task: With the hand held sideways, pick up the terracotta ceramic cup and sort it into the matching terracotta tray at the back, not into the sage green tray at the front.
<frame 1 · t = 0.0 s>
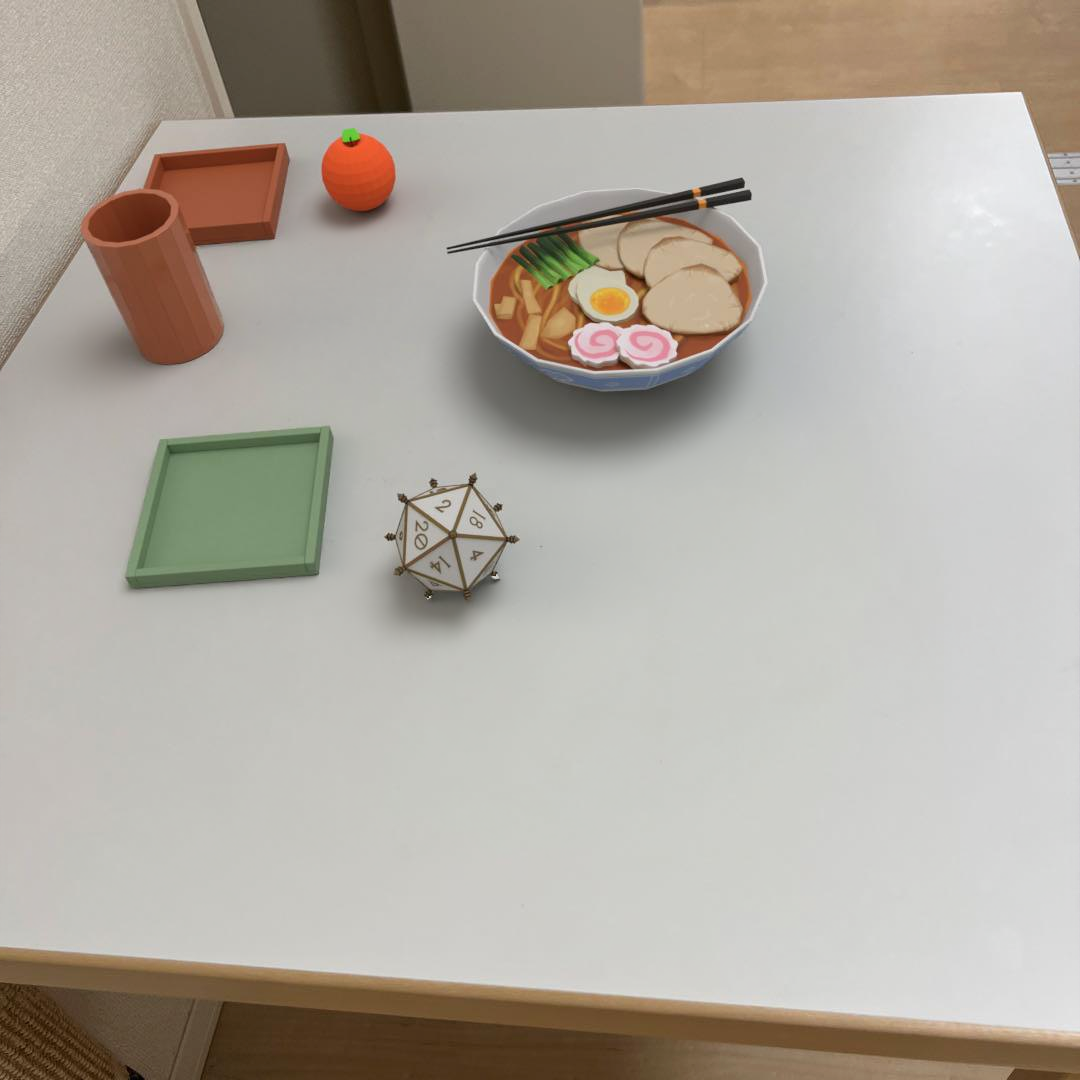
ramen bowl: (619, 346, 88), on the table
game die: (458, 575, 75), on the table
terracotta tray: (215, 203, 105), on the table
terracotta cup: (180, 334, 93), on the table
clementine: (365, 203, 104), on the table
sage tray: (237, 509, 80), on the table
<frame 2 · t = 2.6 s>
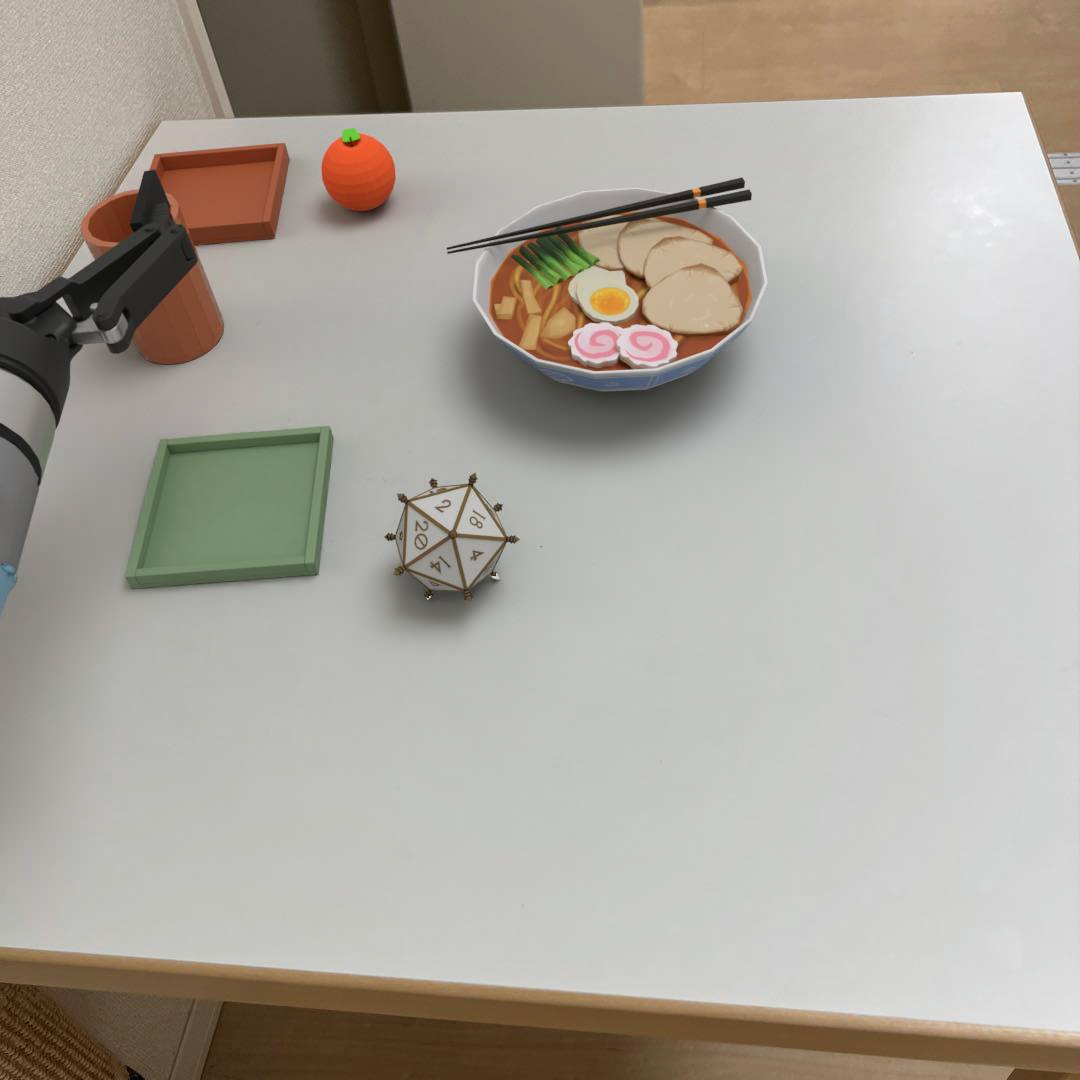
hand: (60, 203, 73), 19 cm above the table, tool horizontal, fingers open, 13 cm apart
nothing on the table moved.
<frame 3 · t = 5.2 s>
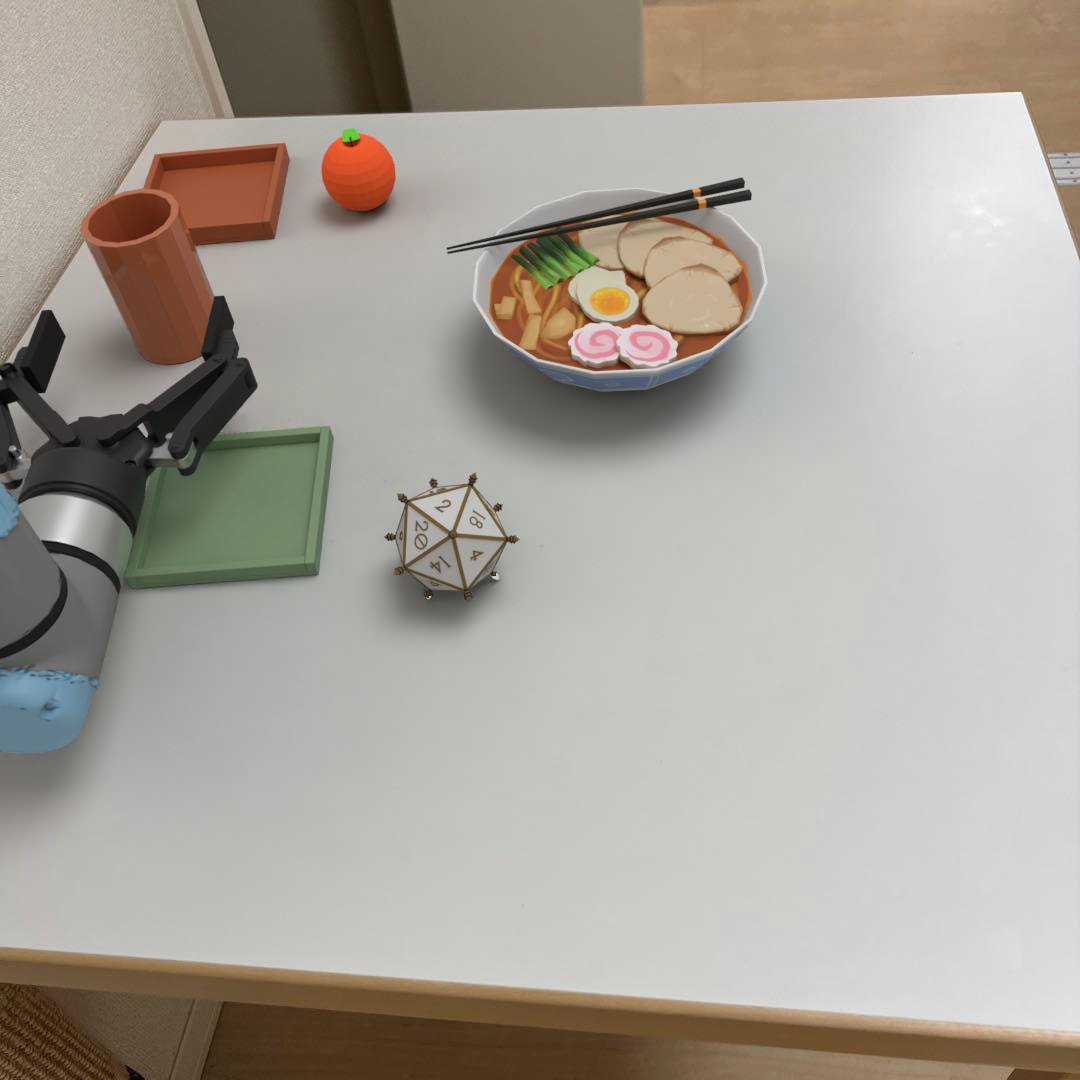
hand: (139, 316, 84), 7 cm above the table, tool horizontal, fingers open, 13 cm apart
nothing on the table moved.
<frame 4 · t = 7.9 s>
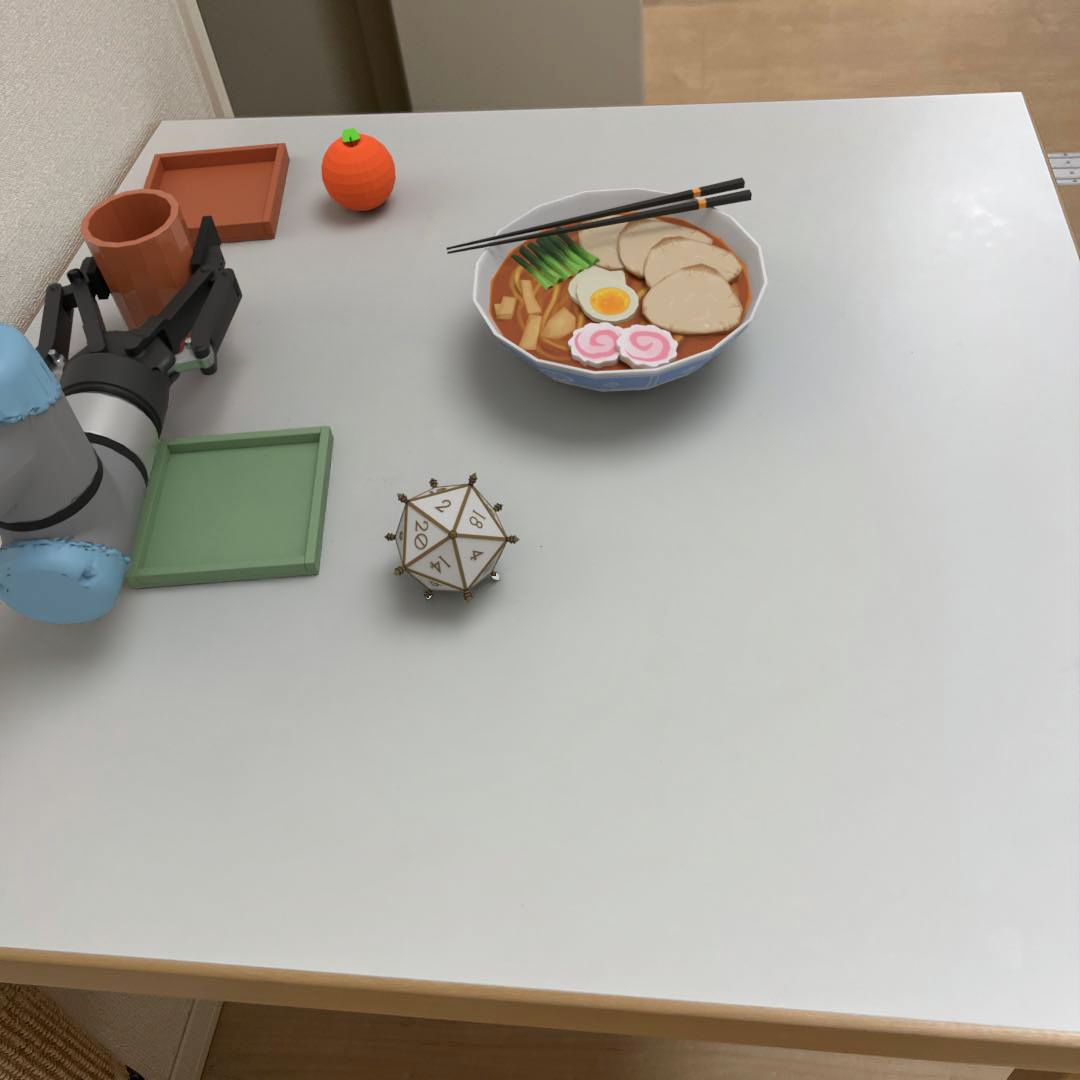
hand: (162, 233, 90), 7 cm above the table, tool horizontal, fingers closed on terracotta cup, 8 cm apart
terracotta cup: (180, 334, 93), on the table, touching gripper
everything else where it was.
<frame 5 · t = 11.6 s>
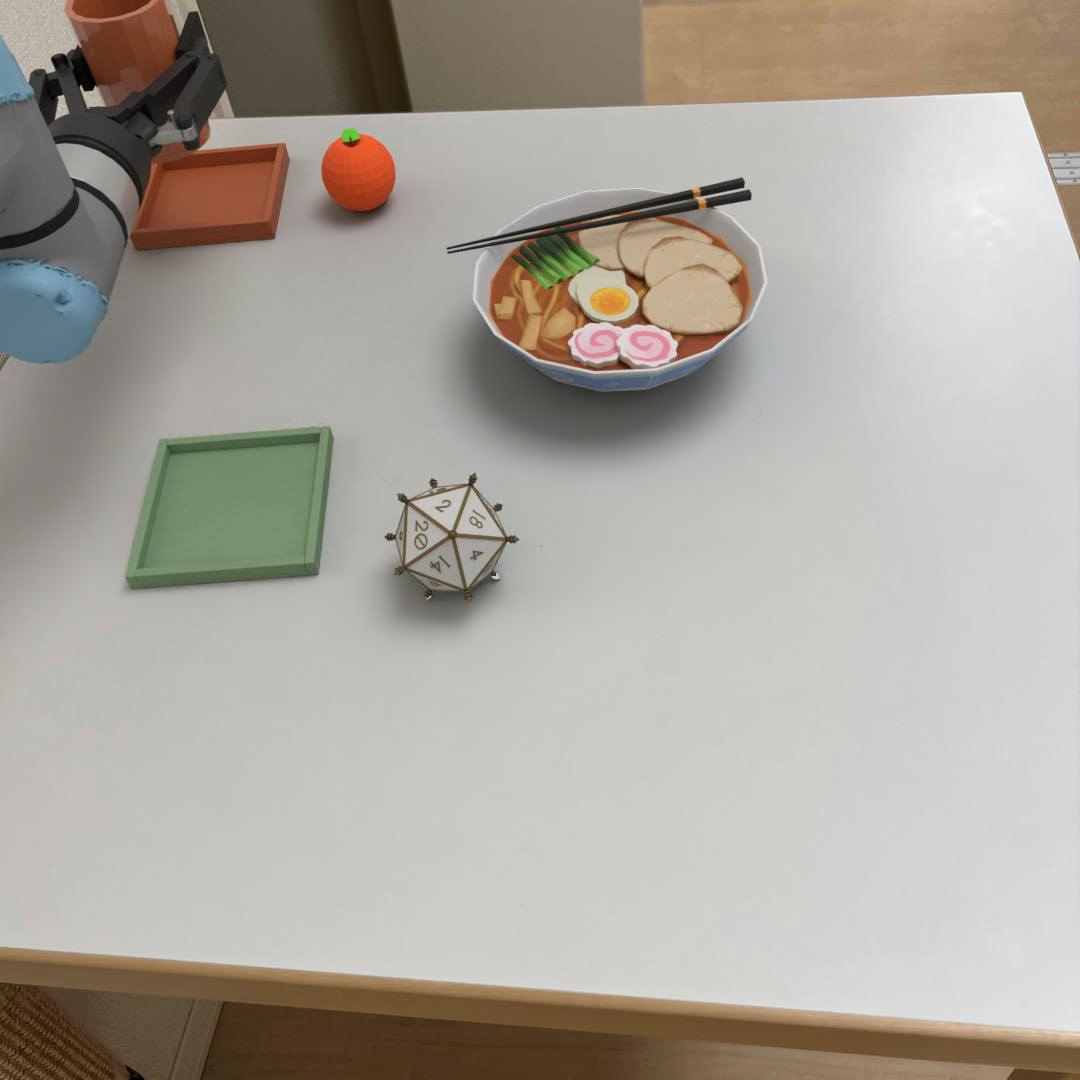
hand: (149, 32, 90), 18 cm above the table, tool horizontal, fingers closed on terracotta cup, 8 cm apart
terracotta cup: (167, 139, 92), point 11 cm above the table, touching gripper
everything else where it was.
when the fingers open (7 cm above the table, at t = 15.8 s): terracotta cup stays where it is, resting on terracotta tray.
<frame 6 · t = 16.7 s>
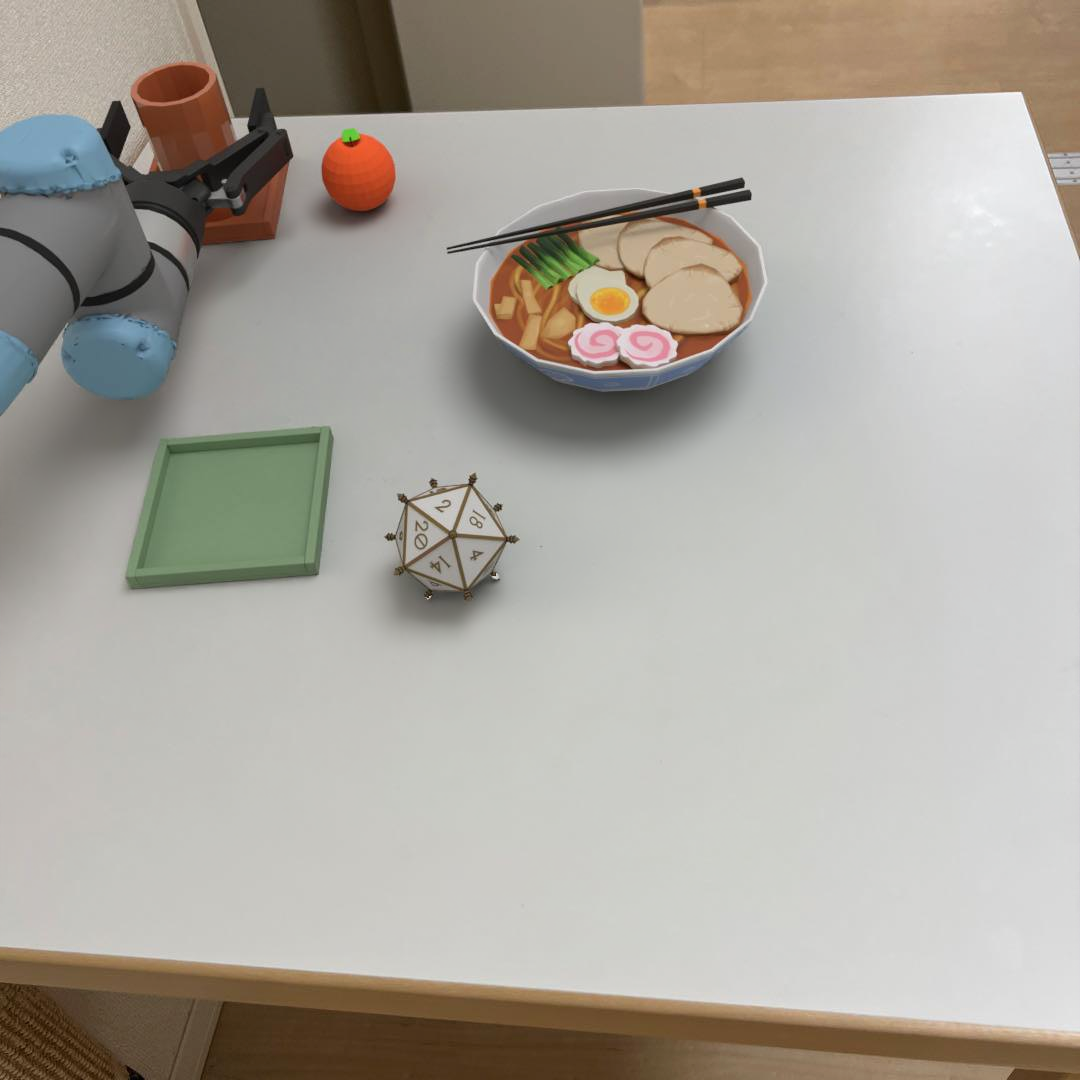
hand: (192, 107, 101), 8 cm above the table, tool horizontal, fingers open, 13 cm apart
terracotta cup: (214, 199, 105), resting on terracotta tray
everything else where it was.
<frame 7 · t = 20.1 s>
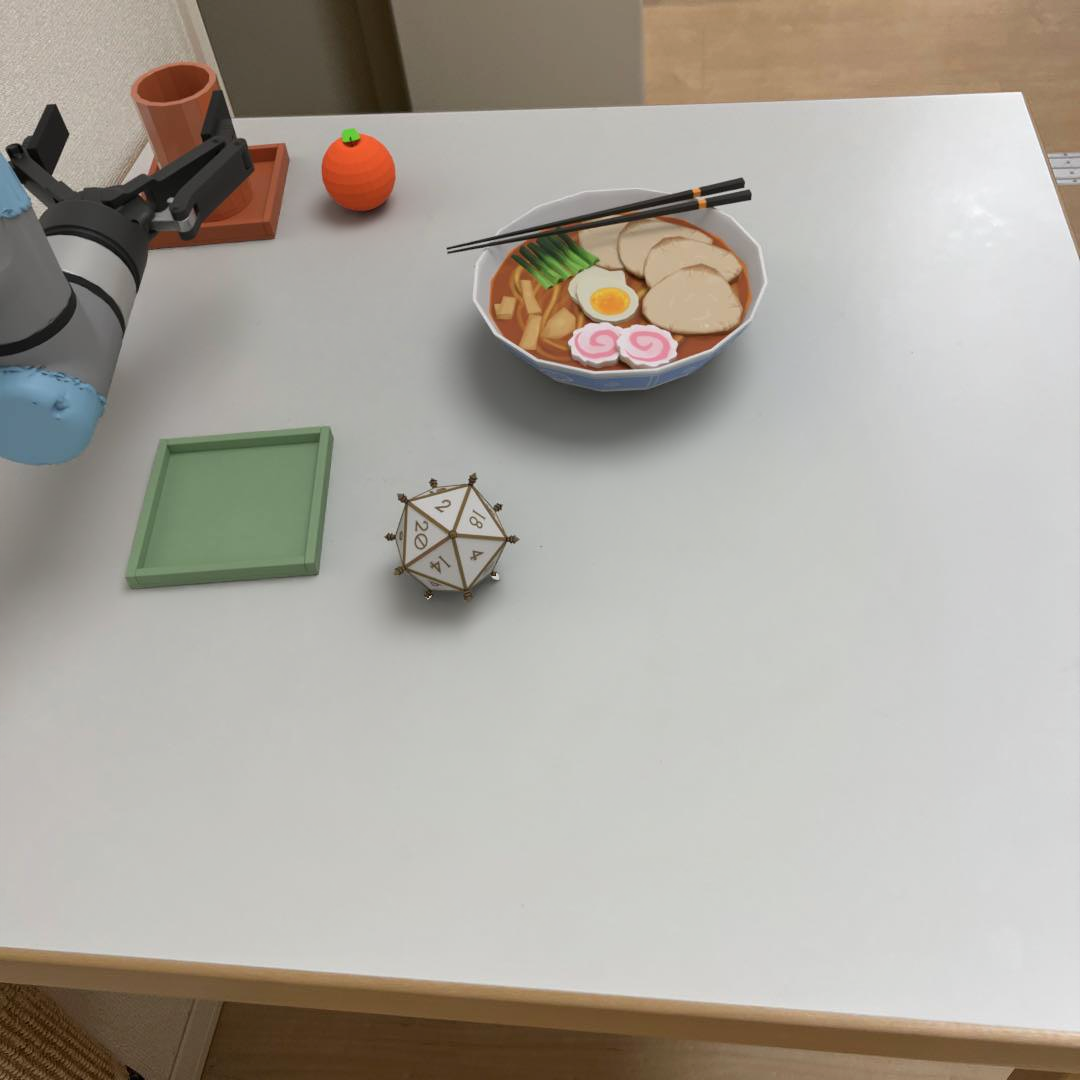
hand: (140, 112, 87), 15 cm above the table, tool horizontal, fingers open, 13 cm apart
nothing on the table moved.
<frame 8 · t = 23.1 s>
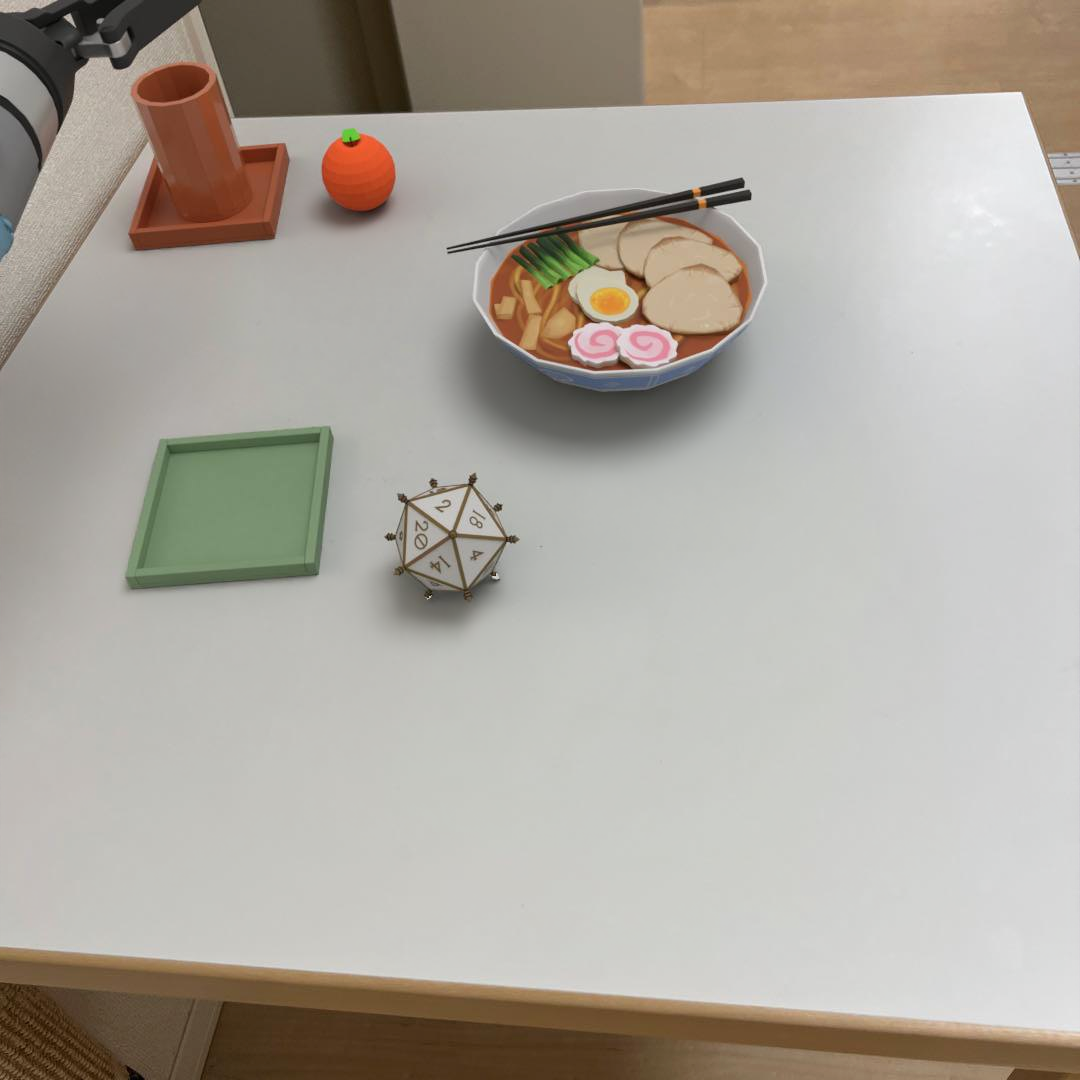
nothing on the table moved.
at the end: terracotta cup inside the target area in the terracotta tray (0.0 cm from its centre), point 0.4 cm above the terracotta tray's base; terracotta cup tilted 0°; terracotta cup touching terracotta tray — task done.
